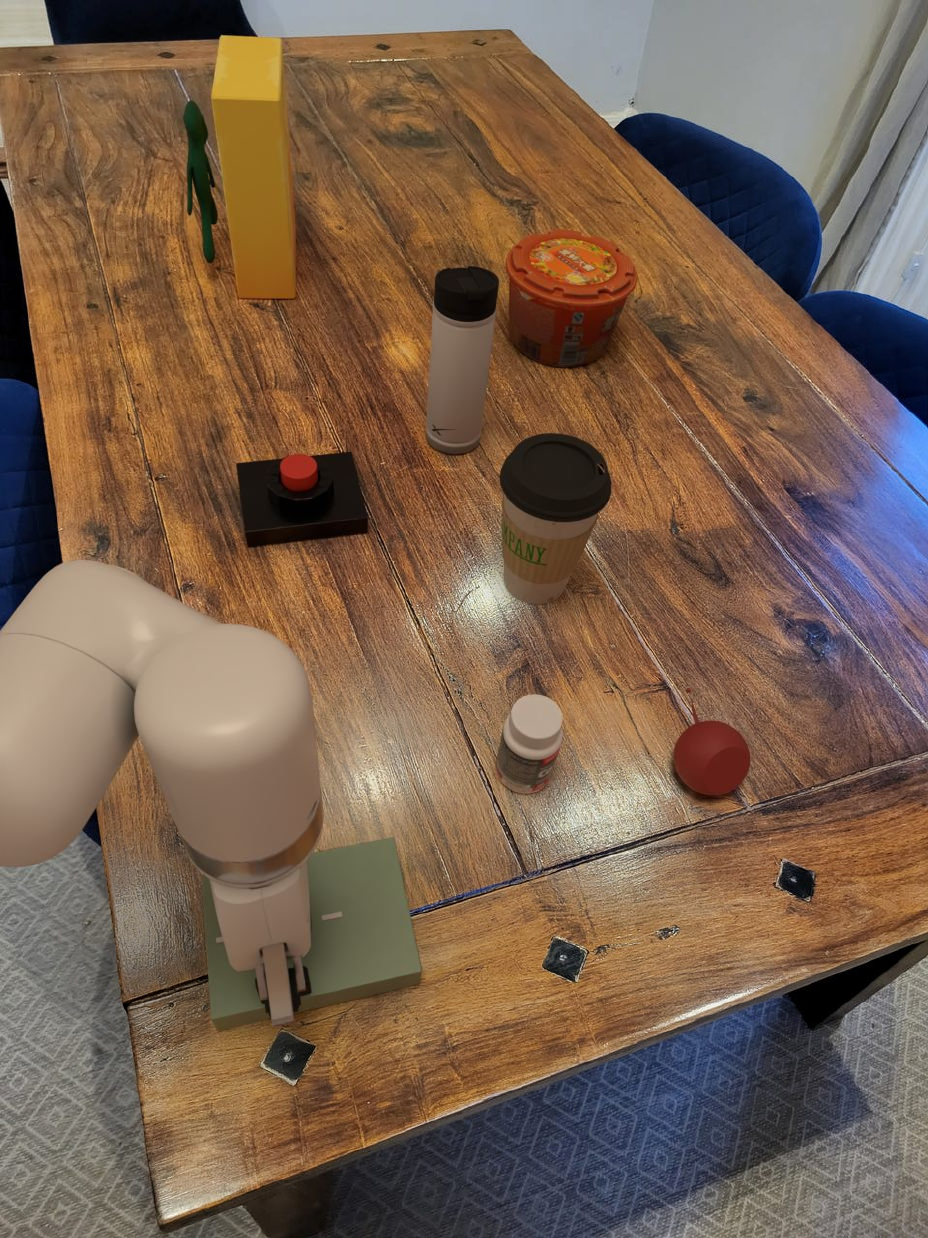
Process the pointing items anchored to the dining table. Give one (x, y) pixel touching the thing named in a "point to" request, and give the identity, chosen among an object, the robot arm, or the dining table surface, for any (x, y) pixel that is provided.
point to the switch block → (301, 502)
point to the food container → (566, 295)
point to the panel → (330, 936)
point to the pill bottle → (529, 744)
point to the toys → (248, 166)
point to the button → (299, 472)
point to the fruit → (711, 756)
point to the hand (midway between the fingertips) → (278, 921)
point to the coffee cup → (549, 512)
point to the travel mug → (460, 357)
